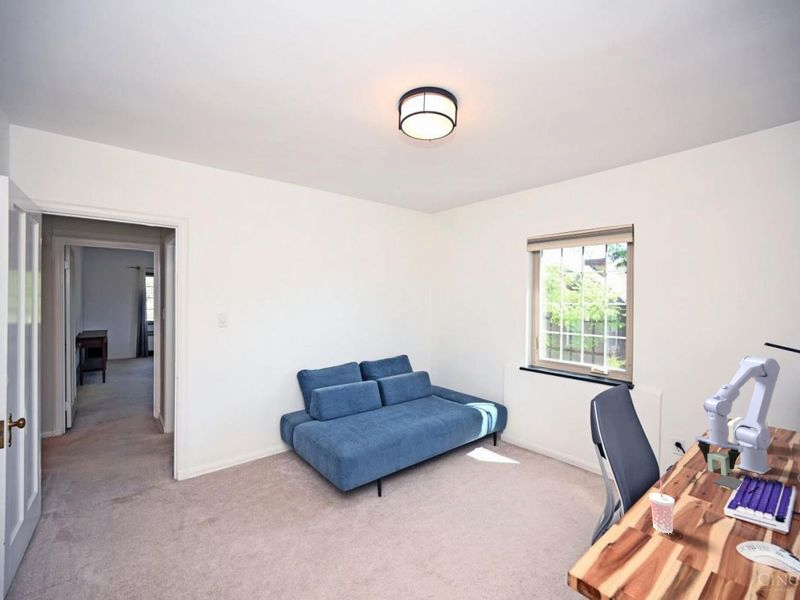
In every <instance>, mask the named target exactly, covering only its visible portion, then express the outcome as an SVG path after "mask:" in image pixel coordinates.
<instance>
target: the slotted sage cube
mask: <svg viewBox="0 0 800 600" xmlns="http://www.w3.org/2000/svg"><path fill="white" fill-rule="evenodd" d="M707 455H708V463H707V471H708V472H711V473H714V472H715V470H719V462H720V475H721V476H724V475H725V476H728V474H732V473H733V471H732V470H731V469H730V467H729V464H730V461H729V455H728V453H727V454H726V453H722V452H718V451H714V450H713V451H711V452H709V454H707Z"/></svg>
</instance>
